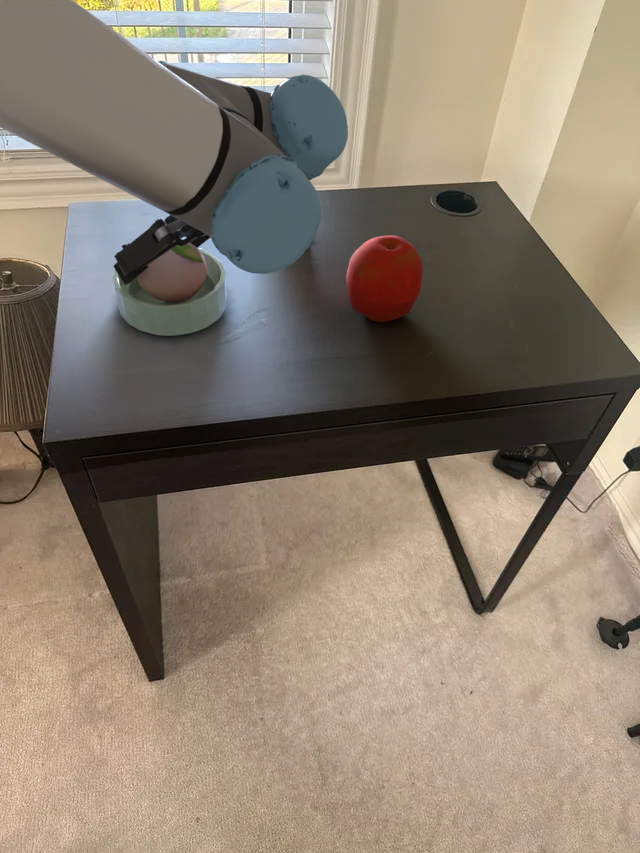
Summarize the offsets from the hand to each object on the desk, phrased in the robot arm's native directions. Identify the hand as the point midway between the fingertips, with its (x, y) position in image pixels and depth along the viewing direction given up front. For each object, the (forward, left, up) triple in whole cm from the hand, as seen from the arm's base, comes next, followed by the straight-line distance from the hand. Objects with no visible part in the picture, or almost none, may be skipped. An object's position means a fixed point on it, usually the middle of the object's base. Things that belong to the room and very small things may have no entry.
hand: (153, 259), depth 84 cm
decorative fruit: (+1, -3, -5) cm, 6 cm away
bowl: (+2, -3, -6) cm, 7 cm away
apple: (+29, -11, -6) cm, 31 cm away
